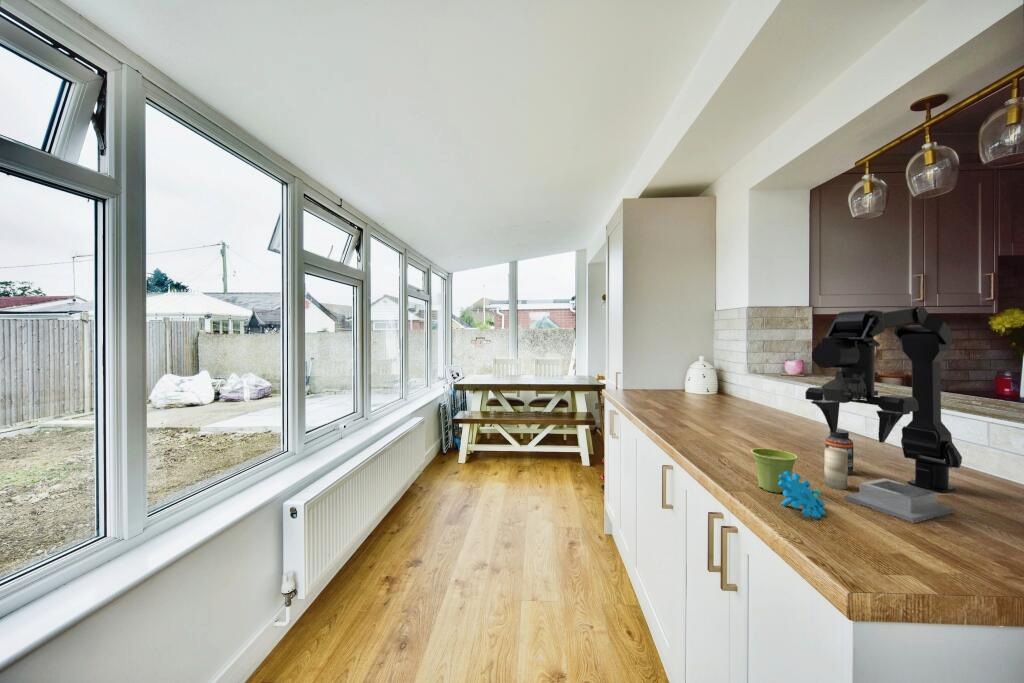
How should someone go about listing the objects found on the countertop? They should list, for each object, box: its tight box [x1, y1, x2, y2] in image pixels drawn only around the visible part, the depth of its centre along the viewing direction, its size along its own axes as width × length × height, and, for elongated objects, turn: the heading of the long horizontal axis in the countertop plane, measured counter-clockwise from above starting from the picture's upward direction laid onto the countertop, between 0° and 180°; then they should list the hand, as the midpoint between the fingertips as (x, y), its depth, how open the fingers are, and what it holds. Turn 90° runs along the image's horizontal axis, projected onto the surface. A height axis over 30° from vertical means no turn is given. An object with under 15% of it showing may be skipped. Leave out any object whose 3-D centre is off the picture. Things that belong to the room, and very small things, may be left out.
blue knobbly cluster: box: [778, 471, 826, 519], centre depth 84 cm, size 11×6×10 cm
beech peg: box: [823, 447, 848, 491], centre depth 97 cm, size 4×4×9 cm
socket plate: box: [843, 491, 954, 523], centre depth 86 cm, size 14×12×1 cm
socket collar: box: [858, 478, 938, 513], centre depth 86 cm, size 9×9×3 cm
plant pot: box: [750, 447, 798, 494], centre depth 95 cm, size 9×9×9 cm
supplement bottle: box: [824, 428, 854, 475], centre depth 108 cm, size 6×6×11 cm
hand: (856, 437), depth 88 cm, fingers open, 9 cm apart
